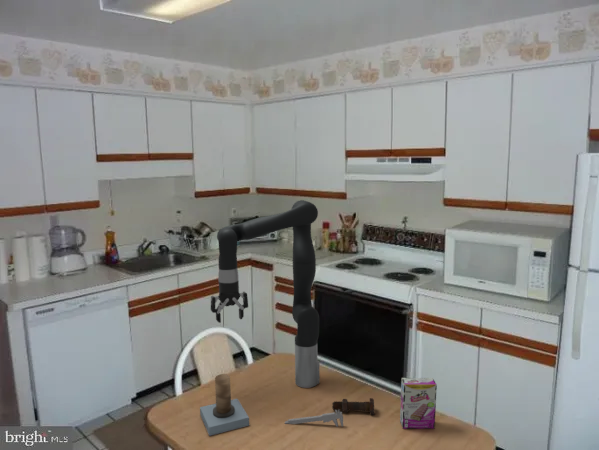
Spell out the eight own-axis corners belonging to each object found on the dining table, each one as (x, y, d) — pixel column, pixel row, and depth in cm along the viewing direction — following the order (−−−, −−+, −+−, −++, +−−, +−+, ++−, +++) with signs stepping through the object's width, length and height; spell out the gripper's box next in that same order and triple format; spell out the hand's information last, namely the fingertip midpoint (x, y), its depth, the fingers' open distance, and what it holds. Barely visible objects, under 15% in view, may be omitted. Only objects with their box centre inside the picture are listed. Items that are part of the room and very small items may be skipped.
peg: (231, 412, 165) (230, 370, 163) (237, 422, 158) (236, 379, 156) (211, 417, 162) (209, 375, 160) (216, 428, 155) (214, 384, 153)
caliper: (343, 425, 156) (343, 409, 155) (343, 427, 155) (343, 410, 154) (284, 422, 158) (284, 406, 158) (284, 424, 157) (284, 407, 156)
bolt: (333, 414, 166) (374, 415, 164) (332, 414, 162) (374, 415, 160) (333, 397, 169) (373, 398, 167) (332, 397, 164) (373, 398, 162)
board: (237, 405, 169) (237, 398, 169) (249, 425, 157) (249, 417, 156) (200, 414, 163) (199, 407, 163) (209, 435, 151) (208, 427, 150)
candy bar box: (402, 429, 153) (403, 384, 151) (399, 421, 158) (400, 377, 156) (435, 429, 153) (437, 384, 151) (431, 421, 158) (433, 377, 156)
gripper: (212, 284, 166) (214, 326, 168) (249, 279, 172) (250, 320, 174) (207, 279, 173) (209, 320, 175) (243, 275, 179) (244, 314, 181)
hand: (230, 320), depth 174 cm, fingers open, 8 cm apart
